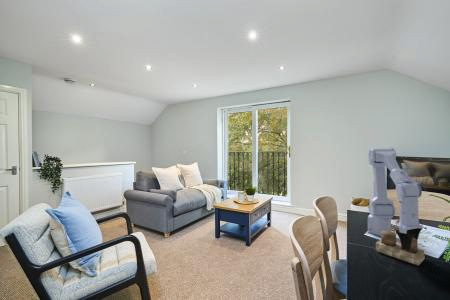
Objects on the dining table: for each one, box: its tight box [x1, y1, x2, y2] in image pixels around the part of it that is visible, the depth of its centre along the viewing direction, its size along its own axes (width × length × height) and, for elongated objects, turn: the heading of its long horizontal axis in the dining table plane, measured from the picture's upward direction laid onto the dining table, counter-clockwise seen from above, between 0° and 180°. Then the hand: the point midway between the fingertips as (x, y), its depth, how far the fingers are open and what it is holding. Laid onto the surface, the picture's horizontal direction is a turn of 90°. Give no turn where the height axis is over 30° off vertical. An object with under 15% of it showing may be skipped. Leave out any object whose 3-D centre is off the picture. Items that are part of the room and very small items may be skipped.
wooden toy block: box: [375, 230, 425, 266], centre depth 86 cm, size 14×8×8 cm, turn 33°
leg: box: [401, 238, 419, 253], centre depth 84 cm, size 5×5×8 cm
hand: (409, 246), depth 84 cm, fingers open, 7 cm apart
